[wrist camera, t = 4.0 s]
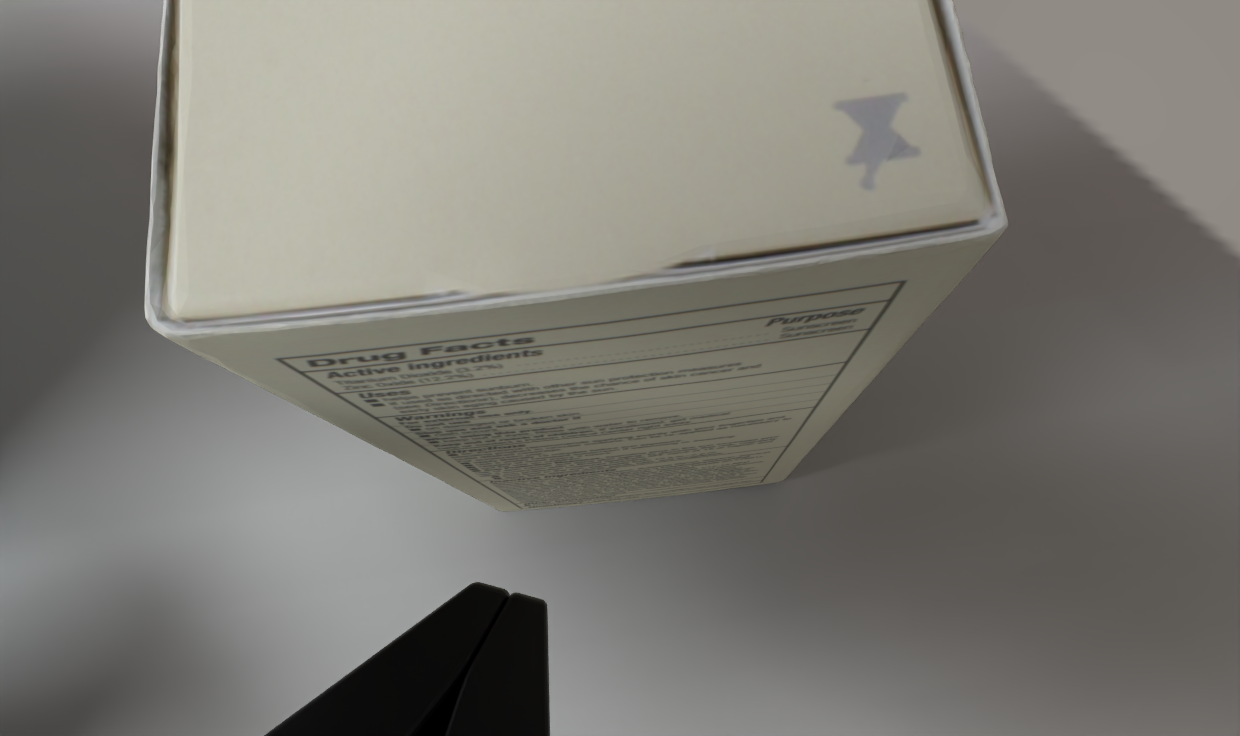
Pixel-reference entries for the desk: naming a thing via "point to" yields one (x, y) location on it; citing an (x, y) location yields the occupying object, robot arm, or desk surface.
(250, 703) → the desk surface
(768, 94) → the skincare box
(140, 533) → the desk surface
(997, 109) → the desk surface
